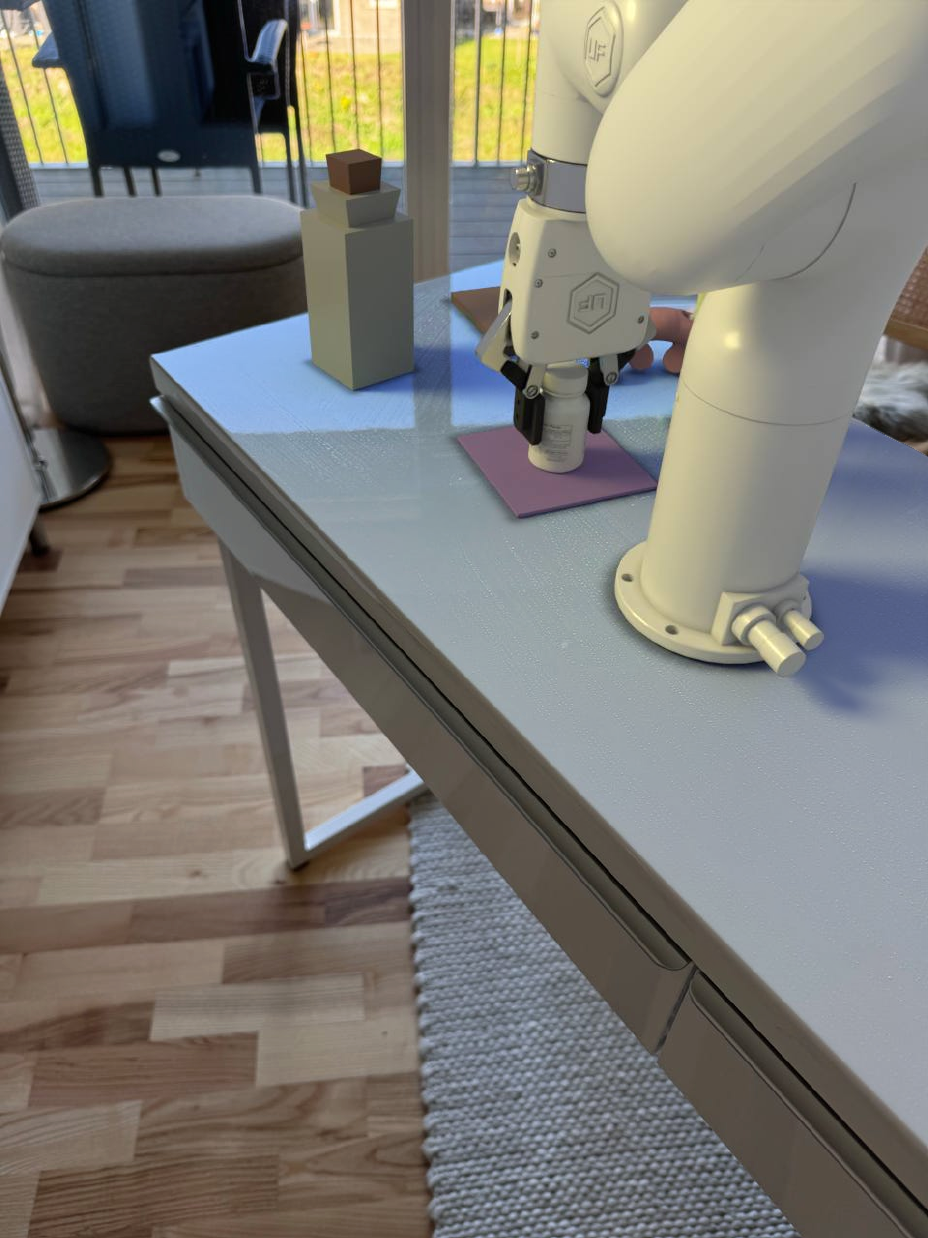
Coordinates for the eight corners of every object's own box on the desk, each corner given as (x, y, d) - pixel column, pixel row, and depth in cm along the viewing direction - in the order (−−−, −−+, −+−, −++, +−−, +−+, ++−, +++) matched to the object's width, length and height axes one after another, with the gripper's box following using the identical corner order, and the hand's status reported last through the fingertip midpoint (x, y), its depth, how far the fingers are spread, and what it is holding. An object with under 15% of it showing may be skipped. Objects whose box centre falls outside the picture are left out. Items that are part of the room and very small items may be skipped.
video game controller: (705, 389, 87) (715, 312, 85) (714, 389, 83) (725, 307, 81) (600, 381, 87) (608, 304, 86) (604, 381, 83) (612, 300, 81)
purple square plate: (658, 488, 71) (659, 484, 71) (517, 517, 67) (517, 514, 67) (586, 416, 79) (586, 413, 79) (457, 439, 76) (457, 436, 75)
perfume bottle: (353, 390, 81) (341, 172, 70) (312, 362, 85) (294, 152, 73) (414, 370, 85) (412, 159, 73) (372, 344, 89) (364, 140, 77)
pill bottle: (555, 440, 75) (565, 350, 70) (594, 462, 73) (606, 371, 68) (516, 456, 73) (523, 366, 68) (554, 480, 71) (565, 388, 66)
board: (614, 339, 91) (615, 330, 91) (504, 356, 88) (504, 346, 87) (552, 288, 101) (552, 279, 100) (450, 301, 97) (450, 291, 97)
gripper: (489, 210, 54) (476, 475, 66) (728, 186, 59) (676, 436, 71) (443, 174, 59) (439, 426, 71) (667, 155, 65) (628, 393, 76)
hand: (558, 428), depth 71 cm, fingers closed on pill bottle, 4 cm apart
